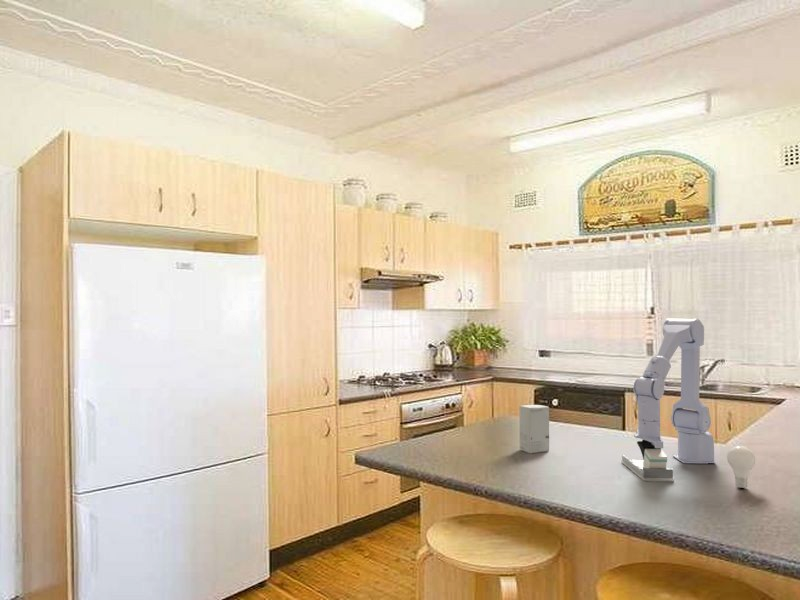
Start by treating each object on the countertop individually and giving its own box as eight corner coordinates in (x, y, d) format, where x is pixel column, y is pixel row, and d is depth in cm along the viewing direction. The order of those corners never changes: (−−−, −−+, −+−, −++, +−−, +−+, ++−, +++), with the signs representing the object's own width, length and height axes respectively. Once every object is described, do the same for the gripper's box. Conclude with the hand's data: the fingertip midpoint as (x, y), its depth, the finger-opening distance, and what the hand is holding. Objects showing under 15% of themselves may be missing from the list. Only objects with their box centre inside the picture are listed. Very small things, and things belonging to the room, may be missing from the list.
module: (659, 467, 155) (661, 448, 153) (665, 476, 151) (667, 457, 149) (642, 467, 155) (644, 448, 153) (648, 475, 151) (650, 456, 150)
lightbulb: (756, 494, 138) (755, 450, 139) (727, 489, 142) (726, 447, 142) (755, 487, 144) (755, 445, 144) (727, 483, 147) (726, 442, 147)
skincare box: (529, 454, 177) (529, 408, 178) (518, 449, 183) (518, 405, 183) (550, 451, 181) (550, 406, 181) (539, 447, 186) (538, 403, 186)
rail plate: (648, 462, 167) (648, 452, 167) (674, 481, 149) (673, 469, 149) (621, 462, 167) (621, 451, 167) (643, 481, 149) (643, 469, 149)
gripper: (625, 414, 163) (626, 460, 163) (644, 425, 149) (644, 475, 148) (650, 414, 163) (650, 460, 162) (670, 425, 148) (671, 475, 148)
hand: (649, 467), depth 155 cm, fingers closed
